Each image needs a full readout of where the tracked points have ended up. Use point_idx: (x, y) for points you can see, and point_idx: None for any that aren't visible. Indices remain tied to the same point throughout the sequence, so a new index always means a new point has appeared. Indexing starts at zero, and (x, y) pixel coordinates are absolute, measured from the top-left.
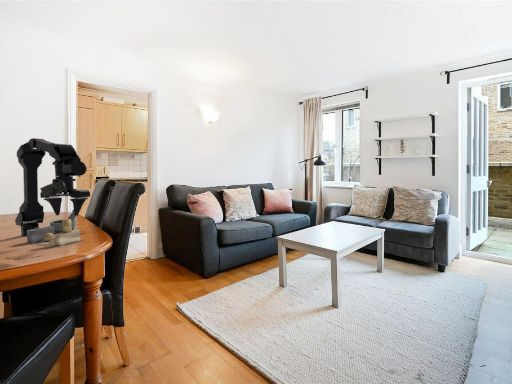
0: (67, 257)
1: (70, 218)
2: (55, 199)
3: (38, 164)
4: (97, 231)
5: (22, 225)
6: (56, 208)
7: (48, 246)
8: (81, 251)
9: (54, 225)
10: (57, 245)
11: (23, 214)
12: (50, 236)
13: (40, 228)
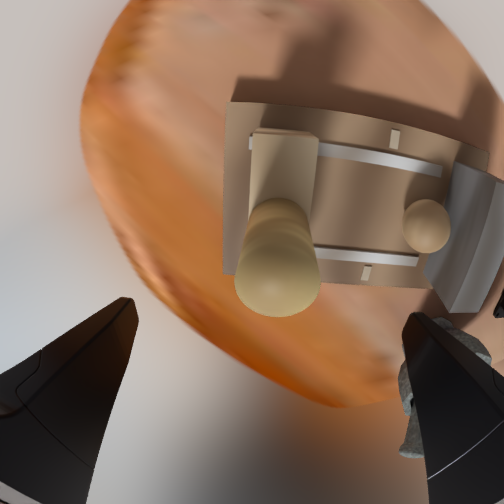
0: (117, 48)
1: None
2: (487, 489)
3: None
4: (338, 404)
5: None
6: (444, 381)
7: (327, 110)
8: (132, 137)
9: (467, 346)
10: None
11: None
12: (409, 219)
13: (492, 255)
